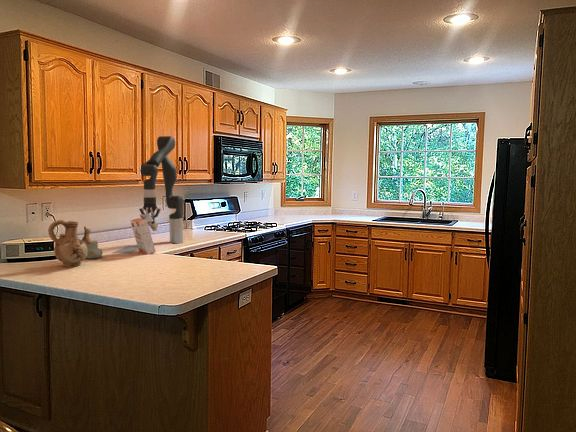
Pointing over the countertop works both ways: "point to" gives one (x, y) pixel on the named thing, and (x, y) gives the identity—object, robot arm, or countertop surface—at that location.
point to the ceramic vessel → (70, 243)
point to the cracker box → (143, 236)
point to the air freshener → (93, 251)
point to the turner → (149, 221)
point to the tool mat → (127, 249)
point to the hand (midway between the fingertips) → (150, 224)
